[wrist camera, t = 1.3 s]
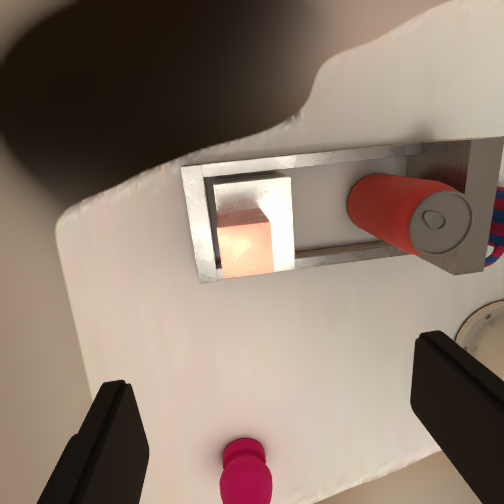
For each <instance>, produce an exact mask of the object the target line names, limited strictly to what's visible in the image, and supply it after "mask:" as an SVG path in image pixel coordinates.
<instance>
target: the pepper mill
mask: <svg viewBox="0 0 504 504" xmlns="http://www.w3.org/2000/svg"><path fill="white" fill-rule="evenodd" d="M265 463H266V459H265V453H264V448H263V447H262V445H261V444H260V443H259V442H257V441H256V440H253V439H247V438H244V439H239V440H235V441H233V442H232V443H230V444H229V445H228V446H227V447H226V448H225V450H224V452H223V469H224V471H223V473H222V475H221V478H220V494H221V498H222V502H223V504H270V501H271V497H272V476H271V472H270V470H269V468H268V467H267V466H266V465H265Z"/></svg>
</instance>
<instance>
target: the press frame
mask: <svg viewBox="0 0 504 504" xmlns="http://www.w3.org/2000/svg"><path fill="white" fill-rule="evenodd" d="M503 145H504V136H502V137H483V138H465V139H446V140H431V141H421V142H411V143H401V144H392V145H382V146H372V147H363V148H353V149H343V150H333V151H324V152H314V153H304V154H295V155H285V156H275V157H265V158H256V159H246V160H236V161H227V162H217V163H207V164H197V165H188V166H182V167H180V168H181V174H182V180H183V186H184V192H185V198H186V204H187V210H188V216H189V222H190V228H191V234H192V241H193V247H194V253H195V259H196V265H197V271H198V277H199V283H200V284H201V283H209V282H217V281H218V279H223V271H222V264H221V261H220V262H216V255H215V248H214V241H213V234H212V227H211V220H210V213H209V206H208V199H207V192H206V184H205V177H210V176H220V175H229V174H238V173H248V172H257V171H267V170H276V169H286V168H295V167H305V166H314V165H323V164H333V163H342V162H352V161H361V160H371V159H380V158H389V157H399V156H408V158H407V173H406V177H411V178H418V179H426V180H433V181H440V182H442V183H444V184H447V185H449V186H451V187H453V188H454V189H456V190H457V191H458V192H461V193H463V194H465V195H466V196H467V197H468V198H469V199H470V200H471V202H472V204H473V207H474V209H475V222H474V225H473V229H472V232H471V233H470V235H469V237H468V238H467V240H466V241H465V242H464V243H463V244H462V245H461V246H460V247H459V248H458V249H457V250H455V251H453V252H452V253H450V254H448V255H444V256H441V257H429V256H426V255H416V256H418V257H420V258H422V259H424V260H426V261H428V262H430V263H432V264H434V265H436V266H437V267H439V268H441V269H443V270H445V271H447V272H449V273H451V274H453V275H461V274H468V273H475V272H483V270H484V264H485V258H486V252H487V245H488V239H489V233H490V227H491V220H492V214H493V208H494V202H495V195H496V189H497V183H498V177H499V170H500V164H501V158H502V152H503ZM408 254H410V253H407V252H404V251H402V250H400V249H398V248H396V247H394V246H393V245H391V244H389V243H387V242H385V241H379V242H371V243H363V244H355V245H347V246H339V247H331V248H323V249H315V250H307V251H300V252H294V255H295V269H300V268H308V267H316V266H323V265H331V264H339V263H347V262H354V261H362V260H370V259H377V258H385V257H393V256H401V255H408ZM289 270H293V269H289ZM281 271H285V270H281ZM274 272H277V271H274ZM269 273H270V272H269ZM261 274H262V273H261ZM253 275H254V274H253ZM245 276H246V275H245ZM238 277H239V276H238ZM230 278H231V277H230Z"/></svg>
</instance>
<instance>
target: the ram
mask: <svg viewBox="0 0 504 504" xmlns="http://www.w3.org/2000/svg"><path fill="white" fill-rule="evenodd" d="M213 187H214V194H215V202H216V209H217V234H218V242H219V249H220V256H221V264H222V271H223V278H230V277H238V276H245V275H253V274H261V273H269V272H274V271H281V270H289V269H295V255H294V236H293V217H292V199H291V180H290V177H289V176H286V175H283V174H281V173H270V174H261V175H251V176H242V177H232V178H223V179H214V184H213Z"/></svg>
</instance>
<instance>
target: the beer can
mask: <svg viewBox="0 0 504 504" xmlns="http://www.w3.org/2000/svg"><path fill="white" fill-rule="evenodd" d="M347 208H348V213H349V216H350V218H351V220H352V222H353V223H354V224H355V225H357V226H358V227H359V228H361V229H363V230H365V231H366V232H368V233H370V234H372V235H374V236H376V237H378V238H380V239H381V240H383V241H385V242H387V243H389V244H391V245H393V246H394V247H396V248H398V249H400V250H402V251H404V252H407V253H410V254H413V255H426V256H429V257H441V256H444V255H448V254H450V253H452V252H453V251H455V250H457V249H458V248H459V247H460V246H461V245H462V244H463V243H464V242H465V241H466V240H467V238H468V237H469V235H470V233H471V232H472V229H473V225H474V222H475V209H474V207H473V204H472V202H471V200H470V199H469V198H468V197H467V196H466V195H465V194H463V193H461V192H458V191H457V190H456V189H454V188H453V187H451V186H449V185H447V184H444V183H442V182H440V181H433V180H426V179H418V178H411V177H403V176H396V175H388V174H372V175H369V176H366V177H365V178H363V179H362V180H360V181H359V182H358V183H357V184H356V185H355V186H354V188H353V189H352V191H351V193H350V195H349V198H348V205H347Z"/></svg>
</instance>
